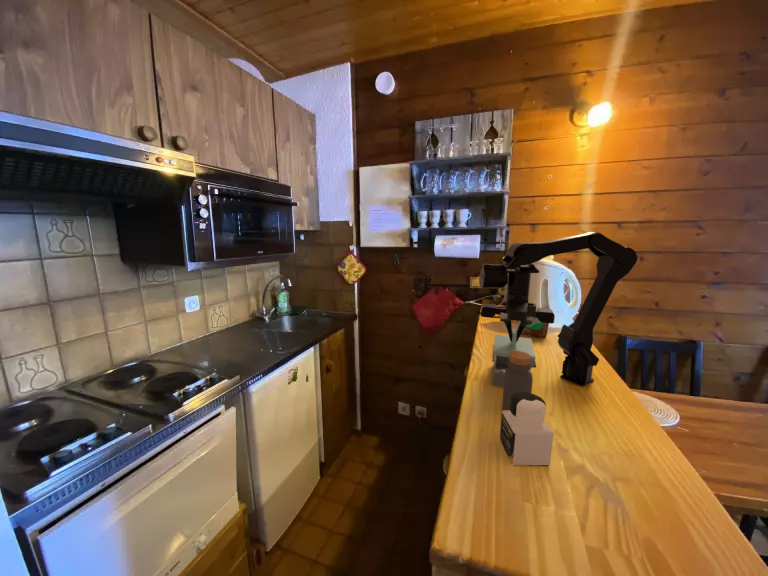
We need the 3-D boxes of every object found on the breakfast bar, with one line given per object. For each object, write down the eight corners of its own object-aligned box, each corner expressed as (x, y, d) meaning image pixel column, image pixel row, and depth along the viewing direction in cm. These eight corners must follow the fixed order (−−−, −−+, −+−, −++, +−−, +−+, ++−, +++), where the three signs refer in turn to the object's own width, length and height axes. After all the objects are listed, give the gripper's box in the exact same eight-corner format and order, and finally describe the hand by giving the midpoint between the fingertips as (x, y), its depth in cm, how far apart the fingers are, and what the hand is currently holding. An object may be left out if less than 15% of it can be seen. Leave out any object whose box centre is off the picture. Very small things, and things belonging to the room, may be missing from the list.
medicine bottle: (499, 440, 65) (503, 387, 63) (533, 441, 65) (539, 388, 63) (511, 466, 58) (516, 407, 56) (550, 466, 58) (557, 408, 56)
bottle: (501, 418, 73) (506, 358, 70) (501, 405, 78) (506, 348, 75) (529, 423, 71) (535, 361, 68) (527, 409, 76) (532, 351, 73)
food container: (513, 331, 133) (515, 308, 131) (524, 329, 135) (525, 306, 133) (538, 340, 122) (541, 315, 120) (549, 338, 124) (552, 314, 122)
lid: (494, 339, 99) (495, 322, 98) (530, 343, 95) (532, 326, 94) (493, 356, 86) (494, 337, 85) (534, 362, 82) (536, 342, 81)
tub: (493, 365, 100) (494, 353, 100) (528, 370, 97) (529, 358, 96) (492, 385, 88) (493, 372, 87) (531, 392, 84) (532, 378, 83)
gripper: (481, 291, 83) (477, 347, 86) (560, 297, 76) (554, 357, 79) (483, 284, 93) (480, 334, 96) (554, 288, 87) (548, 342, 90)
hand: (513, 341), depth 90 cm, fingers closed on lid
